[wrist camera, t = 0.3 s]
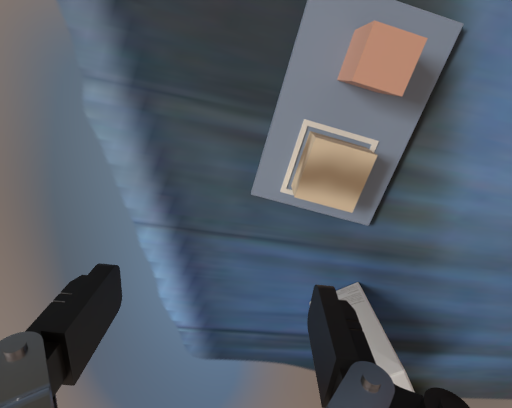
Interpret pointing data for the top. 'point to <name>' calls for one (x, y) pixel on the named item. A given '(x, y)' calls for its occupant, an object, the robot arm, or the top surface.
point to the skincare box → (375, 335)
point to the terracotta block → (381, 58)
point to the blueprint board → (348, 98)
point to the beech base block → (332, 172)
